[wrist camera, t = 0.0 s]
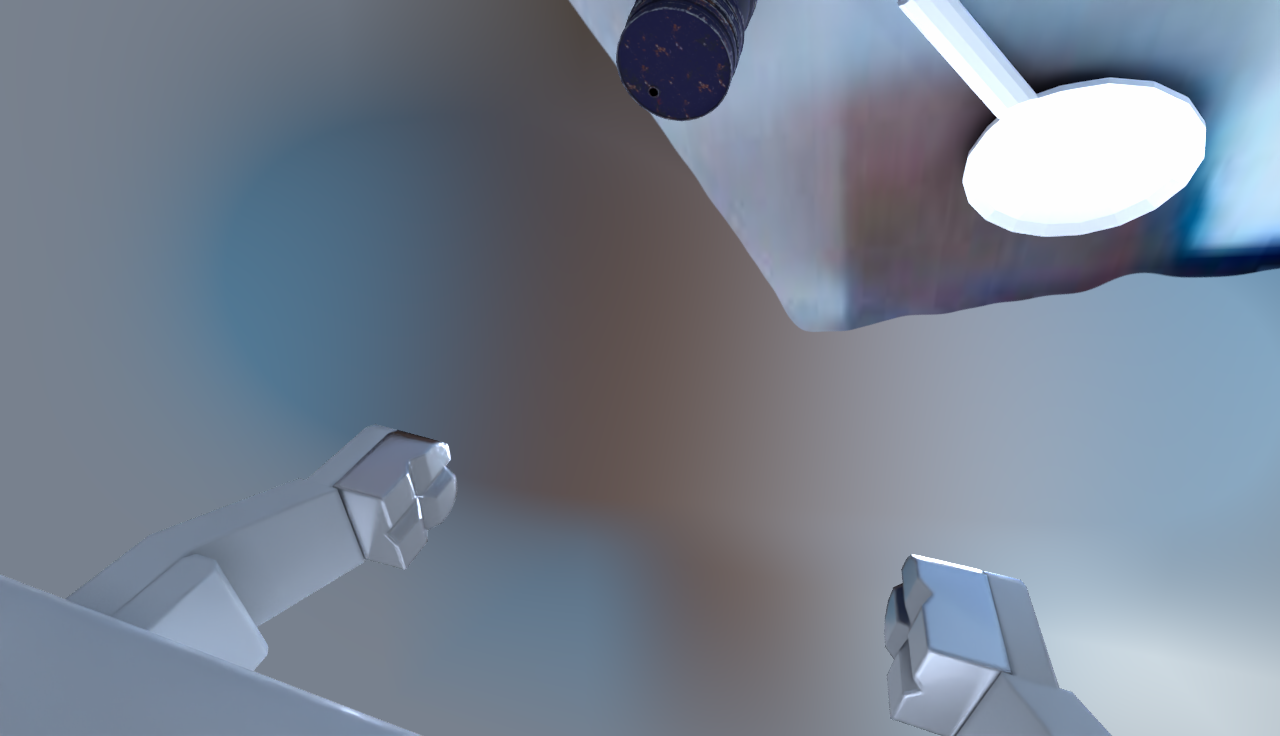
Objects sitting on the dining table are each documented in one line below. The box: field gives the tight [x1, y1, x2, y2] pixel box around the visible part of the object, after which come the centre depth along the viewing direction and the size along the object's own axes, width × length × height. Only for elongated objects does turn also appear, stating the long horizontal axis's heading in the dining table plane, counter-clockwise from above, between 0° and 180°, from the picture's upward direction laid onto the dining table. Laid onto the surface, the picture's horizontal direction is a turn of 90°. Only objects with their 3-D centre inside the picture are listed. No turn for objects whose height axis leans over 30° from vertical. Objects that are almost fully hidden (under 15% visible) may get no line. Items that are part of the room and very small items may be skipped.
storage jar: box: [616, 0, 757, 121], centre depth 49 cm, size 10×10×15 cm
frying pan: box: [897, 0, 1206, 237], centre depth 54 cm, size 35×19×5 cm, turn 58°
